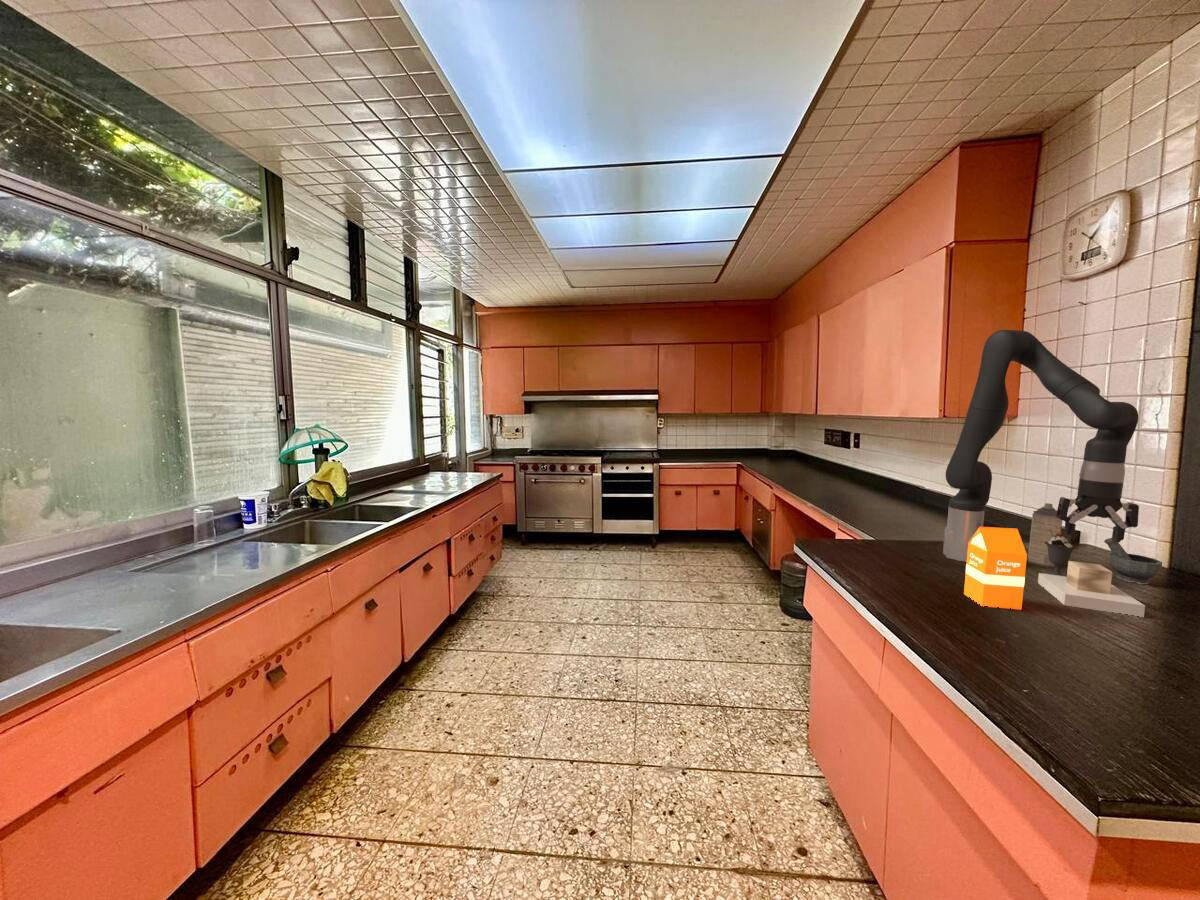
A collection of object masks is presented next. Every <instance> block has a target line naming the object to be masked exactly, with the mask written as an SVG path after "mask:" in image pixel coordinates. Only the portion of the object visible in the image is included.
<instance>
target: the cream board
mask: <svg viewBox="0 0 1200 900" xmlns="http://www.w3.org/2000/svg"><path fill="white" fill-rule="evenodd" d="M1037 577H1038V578H1037V583H1038V584H1039V585H1040V587H1042V588H1043V587H1044V588H1043V589H1045V591H1047V592H1048V593H1049V594H1051V596H1053V597H1055V599H1056V598H1057V601H1059V602H1060V603H1061V604H1062V605H1064V606H1068V607H1074V608H1081V609H1088V610H1094V611H1100V612H1105V611H1106V613H1112V612H1113V613H1112V614H1118V613H1121V614H1120V615H1125V614H1128V615H1127V616H1131V615H1134V616H1133V617H1137V616H1139V617H1140V618H1145V609H1146V605H1145V604H1143V603H1141V602H1140V601H1138V600H1137V599H1135V598H1134V597H1132V596H1131V595H1129V594H1128V593H1125V592H1124V591H1123V590H1121V589H1120V588H1118V587H1117V586H1115V585H1113V584H1111V588H1110V594H1103V593H1096V592H1089V591H1082V590H1077V589H1075V588H1074V587H1073V586H1071V585H1070V584H1069V583H1067V582H1066V579H1067V576H1066V577H1065V575H1063V576H1058V575H1050V574H1046V573H1042V572H1041V573H1040V572H1039V573H1038V576H1037ZM1139 617H1138V618H1139Z"/></svg>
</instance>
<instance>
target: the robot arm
mask: <svg viewBox="0 0 1200 900" xmlns="http://www.w3.org/2000/svg"><path fill="white" fill-rule="evenodd" d="M980 359H981V360H980V364H979V370H978V376H977V379H976V382H975V386H974V389H973V394H972V397H971V400H970V402H969V406H968V408H967V412H966V415H965V417H964V418H965V419H964V422H963V426H962V429H961V432H960V434H959V439H958V442H957V445H956V447H955V449H954V451H953V454H952V456H951V457H950V460H949V462H948V464H947V466H946V469H945V480H946V482H947V483H948V485H949V486H950V487H951V488H953V489H956V490H958V492H957V493H956V494H955V495H954V496H952V497H950V498H949V500H948V513H947V521H946V522H947V523H946V524H947V525H946V526H945V527H944V536H943V548H942V554H943V555H944V556H945V558H946V559H950V560H955V561H959V562H964V563H967V553H968V543H969V541H970V540H971V539H972V537H973V536H974V534H975V533H976V531H977V530H978V528H979V527H984V521H985V520H984V519H985V518H984V517H985V510H986V509H985V508H986V505H987V504H988V503H989V500H990V495H991V488H992V481H993V474H992V471H991V470H992V469H991V468H990V466H989V465H988V464H986V463H985V462H983V461H979V457H980V455H981V453H982V451H983V450H984V448H985V447H986V445H988V444H989V442H990V441H991V440H993V438H994V437H995V435H996V434H997V433H998V432H999V431H1000V429H1001V428H1002V426H1003V424H1004V421H1005V418H1006V415H1007V413H1008V412H1007V411H1008V410H1009V409H1008V408H1009V405H1010V403H1009V396H1008V395H1009V394H1008V391H1007V387H1006V378H1007V377H1006V376H1007V372H1008V369H1009V366H1010V364H1011V362H1016V363H1017V364H1020V365H1022V366H1024V367H1026V368H1027V369H1029V370H1030V371H1032V373H1034V374H1035V375H1036V377H1037V378H1038V380H1039V381H1040V383H1041V384H1042V386H1043V387H1044V388H1045V389H1046V390H1047V391H1048V392H1049V393H1050V394H1052V395H1053V396H1054V397H1055V398H1057V399H1058V400H1059V401H1061V402H1062V403H1064V404H1066V405H1067V406H1068V408H1069V409H1070V410H1071V411H1072V412H1073V414H1074V415H1075V416H1076V417H1077V418H1078V419H1079V421H1081V422H1082V423H1084V424H1085V425H1086V426H1087V427H1088V426H1089V427H1090V428H1092V429H1097V431H1096V434H1095V436H1094V437H1093V438H1091V439H1089V440H1087V442H1086V443H1085V446H1084V447H1085V448H1084V454H1083V461H1082V464H1081V467H1080V472H1079V475H1078V476H1079V479H1078V485H1077V496H1076V498H1075V499H1074V498H1066V497H1065V496H1061V497H1059V500H1058V505H1057V508H1056V510H1057V514H1056V517H1057V518H1059V519H1061V520H1062V522H1063V521H1064V522H1065V523H1064V529H1063V531H1064V532H1063V533H1064V534H1066V536H1067V537H1069V538H1075V533H1076V522H1078V521H1080V520H1082V519H1084V518H1085V517H1086V516H1087V517H1089V518H1096V517H1097V518H1101V519H1107V518H1108V519H1109V520H1110V521H1111V522H1112V523H1113V524H1114V525H1115V526H1113V527H1112V534H1111V538H1112V541H1114V542H1118V543H1121V541H1123V540H1125V533H1126V529H1128V528H1137V527H1138V526H1139V511H1140V510H1139V509H1140V505H1138V504H1137V503H1134V502H1129V501H1128V502H1122V500H1121V499H1122V495H1123V488H1124V483H1125V482H1124V481H1125V475H1126V469H1125V468H1126V467H1125V465H1126V464H1125V463H1126V458H1127V450H1128V449H1127V448H1128V445H1129V443H1130V442H1131V439H1132V437H1133V436H1134V433H1135V431H1136V428H1137V426H1138V423H1139V412H1138V409H1137V408H1136V407H1135V406H1134V405H1133V404H1131V403H1129V402H1126V401H1110V400H1108V399H1106V398H1104V397H1103V395H1101V394H1100V393H1101V389H1100V388H1099V387H1098V386H1097V385H1096V384H1095V383H1093V382H1092V381H1090V380H1089V379H1087V378H1086V377H1084V376H1082V374H1079V373H1078V372H1076V371H1075V370H1073V368H1071V367H1069V366H1068V365H1067V364H1065V363H1064V362H1062V361H1061V360H1060V359H1059V358H1058V357H1056V356H1055V355H1054V354H1053V353H1052V352H1051V351H1050V350H1049V349H1047V347H1046V346H1045V345H1044V344H1043V343H1042V342H1041V341H1040V340H1039V339H1038V338H1037V337H1036V336H1035V335H1034V334H1032V333H1031V332H1030V331H1026V330H1018V329H1000V330H997V331H994V332H993V333H991V334H990V335H989V336H988V338H987V339H986V341H985V343H984V344H983V349H982V353H981V358H980ZM1073 504H1074V505H1075V506H1076V507H1077V508H1075V509H1074V510H1072V511H1071V513H1070V514H1069V515H1068V513H1069V508H1070V507H1072V506H1073ZM1121 509H1123V511H1124V512H1125V517H1124V518H1125V519H1124V521H1123V518H1121V516H1120V515H1119V514H1118V513H1117V512H1118V511H1119V510H1121Z"/></svg>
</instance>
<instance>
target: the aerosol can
mask: <svg viewBox="0 0 1200 900" xmlns="http://www.w3.org/2000/svg"><path fill="white" fill-rule="evenodd" d="M1056 514H1057V509H1056V508H1055V507H1054V505H1053V503H1048V502H1047V503H1046V502H1045V503H1044V506H1042V507H1039V508H1038V509H1036V510H1034V511H1033V513H1032V517H1031V526H1030V535H1029V544H1028V545H1029V546H1028V553H1027V562H1028V563H1029V564H1032V565H1036V566H1039V565H1040V567H1044V566H1046V567H1045V568H1055V565H1054V564H1053V563H1051V562H1050V560H1049V557H1048V547H1047V545H1046V544H1045V543H1044V542H1046V541H1049V540H1051V538H1052V537H1053V536H1055V535H1056V533H1059V532H1060V531H1061V532H1060V534H1061V535H1062V530H1063V529H1062V528H1063V520H1061V519H1059V518H1057V517H1056ZM1060 527H1061V529H1060Z"/></svg>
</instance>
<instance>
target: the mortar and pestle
mask: <svg viewBox="0 0 1200 900" xmlns="http://www.w3.org/2000/svg"><path fill="white" fill-rule="evenodd" d="M1103 542H1104V544H1106V545H1107V546H1108V548H1109V550H1110V552H1111V553H1109V557H1108V559H1109V560H1108V561H1109V565H1110V566H1111V567H1112V569H1113V570H1114V571H1115V572H1116V573H1117V574H1116V576H1118V577H1120V578H1122V579H1126V580H1129V581H1135V582H1140V583H1148V582H1149V583H1150V579H1151V578H1154V577H1155V576H1156V575H1158V574H1159V573H1160V571H1161V569H1162V566H1163V561H1161V560H1158V559H1156V558H1154V557H1153V558H1152V557H1148V556H1145V555H1140V554H1135V553H1127V551H1126V550H1125V549H1124V548H1123V546H1122V545H1121V544H1120V542H1114V541H1112V537H1109V538H1106V539H1104V541H1103Z"/></svg>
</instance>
